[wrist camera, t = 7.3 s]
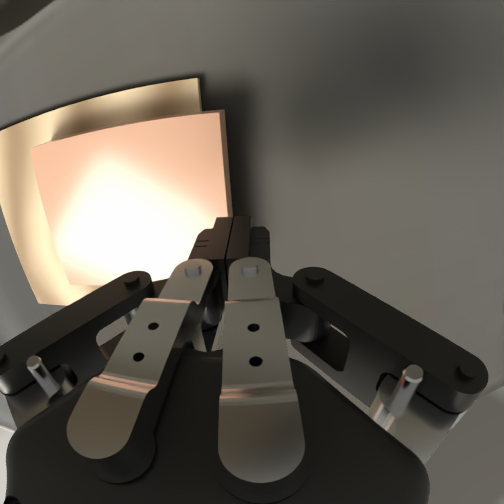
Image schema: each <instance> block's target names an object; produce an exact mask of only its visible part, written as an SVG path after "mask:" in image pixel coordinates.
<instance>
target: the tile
mask: <svg viewBox="0 0 504 504" xmlns="http://www.w3.org/2000/svg"><path fill="white" fill-rule="evenodd" d="M30 153H31V158H32V163H33V167H34V172H35V176H36V181H37V185H38V189H39V193H40V197H41V200H42V204H43V208H44V211H45V215H46V218H47V221H48V225H49V228H50V231H51V234H52V237H53V240H54V243H55V246H56V249H57V252H58V255H59V257H60V260H61V263H62V266H63V268H64V271H65V274H66V276H67V279H68V281H69V284H70V285H105V284H107V283H109V282H110V281H112V280H114V279H116V278H118V277H119V276H121V275H123V274H125V273H128V272H131V271H137V270H140V271H146V272H148V273H149V274H150V275H151V279H152V282H153V281H158V280H162V279H167V278H169V277H170V275H171V273H172V272H173V270H174V268H175V267H176V266H177V265H178V264H179V263H181V262H183V261H186V260H188V258H189V255H190V253H191V250H192V248H193V245H194V243H195V240H196V238H197V235H198V234H199V233H200V232H202V231H203V230H204V229H211V228H213V226H214V223H215V220H216V218H217V217H233V212H232V200H231V187H230V175H229V162H228V149H227V135H226V121H225V109H224V110H212V111H201V112H192V113H184V114H176V115H168V116H161V117H155V118H148V119H142V120H137V121H131V122H126V123H120V124H115V125H111V126H106V127H101V128H97V129H92V130H88V131H84V132H80V133H76V134H72V135H68V136H64V137H61V138H57V139H54V140H50V141H48V142H45V143H43V144H40V145H38V146H35V147H33V148H30Z"/></svg>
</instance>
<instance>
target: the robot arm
mask: <svg viewBox="0 0 504 504" xmlns="http://www.w3.org/2000/svg"><path fill="white" fill-rule="evenodd" d="M223 312H225V314H224V338H223V349H222V350H216V348H217V345H218V341H219V337H220V333H221V329H222V324H221V319H222V313H223ZM122 316H125V319H126V321H127V324H128V327H127V329H126V330H125V331H123V332H122V333H120V334H118V335H117V336H115V337H114V338H112V339H111V340H109V341H107V342H106V343H104V344H103V345H101V346H98V344H97V342H96V336H97V334H98V332H99V331H100V330H101V329H103V328H104V327H106V326H107V325H109V324H111V323H112V322H114V321H116V320H117V319H119V318H120V317H122ZM331 324H332V325H333V326H335V327H336V328H338V329H339V330H341V331H342V332H343V333H345V335H346V336H347V337H348V338H347V337H345V336H344V335H342V334H341V333H340V332H338V331H337V330H335V329H334V328H332V327H331V326H330V325H331ZM286 338H287V339H291V344H292V346H293V347H294V348H295V349H296V350H297V351H298V352H300V353H301V354H302V355H303V356H304V357H306V358H307V359H308V360H309V361H311V362H312V363H313V364H314V365H316V366H317V367H318V368H319V369H321V370H322V371H323V372H324V373H326V374H327V375H328V376H329V377H331V378H332V379H333V380H334V381H336V382H337V383H338V384H339V385H341V386H342V387H343V388H345V389H346V390H347V391H348V392H350V393H351V394H352V395H354V396H355V397H356V398H358V399H359V400H360V401H361V402H363V403H364V404H365V405H367V406H368V407H369V408H370V410H369V416H370V417H369V416H368V415H367V414H365V413H364V412H363V411H362V410H361V409H359V408H358V407H357V406H356V405H355V404H353V403H352V402H351V401H350V400H349V399H347V398H346V397H345V396H344V395H343V394H341V393H340V392H339V391H338V390H337V389H336V388H334V387H333V386H332V385H331V384H330V383H329V382H327V381H326V380H325V379H324V378H323V377H322V376H321V375H319V374H318V373H317V372H316V371H315V370H313V369H312V368H311V367H309V366H308V365H306V364H304V363H302V362H300V361H298V360H295V359H292V358H289V355H288V349H287V344H286ZM487 382H488V371H487V369H486V366H485V365H484V363H483V362H482V361H481V360H480V359H479V358H477V357H476V356H474V355H473V354H471V353H470V352H468V351H466V350H465V349H463V348H461V347H460V346H458V345H456V344H455V343H453V342H451V341H450V340H448V339H446V338H445V337H443V336H441V335H440V334H438V333H436V332H434V331H433V330H431V329H429V328H428V327H426V326H424V325H423V324H421V323H419V322H418V321H416V320H414V319H412V318H411V317H409V316H407V315H406V314H404V313H402V312H400V311H399V310H397V309H395V308H394V307H392V306H390V305H388V304H387V303H385V302H383V301H381V300H380V299H378V298H376V297H374V296H373V295H371V294H369V293H368V292H366V291H364V290H362V289H361V288H359V287H357V286H355V285H353V284H352V283H350V282H348V281H346V280H345V279H343V278H341V277H339V276H338V275H336V274H334V273H332V272H331V271H329V270H327V269H324V268H320V267H307V268H303V269H300V270H299V271H297V272H296V273H295V274H294V276H293V277H288V276H284V275H281V274H279V273H277V272H275V271H274V270H273V269H272V267H271V264H270V236H269V231H268V230H267V229H266V228H265V227H253V224H252V216H235V217H217V218H216V220H215V223H214V226H213V228H211V229H204V230H203V231H202V232H200V233H199V234H198V235H197V238H196V240H195V243H194V245H193V248H192V250H191V253H190V255H189V258H188V260H186V261H183V262H181V263H179V264H178V265H177V266H176V267H175V268H174V270H173V272H172V273H171V275H170V277H169V278H167V279H162V280H158V281H153V282H152V279H151V275H150V274H149V273H148V272H146V271H140V270H137V271H131V272H128V273H125V274H123V275H121V276H119V277H118V278H116V279H114V280H112V281H110V282H109V283H107V284H105V285H103V286H101V287H100V288H98V289H96V290H94V291H92V292H91V293H89V294H87V295H85V296H84V297H82V298H80V299H78V300H77V301H75V302H73V303H71V304H70V305H68V306H66V307H65V308H63V309H61V310H59V311H58V312H56V313H54V314H53V315H51V316H49V317H47V318H46V319H44V320H42V321H41V322H39V323H37V324H36V325H34V326H32V327H31V328H29V329H27V330H26V331H24V332H23V333H21V334H19V335H18V336H16V337H14V338H13V339H11V340H9V341H8V342H6V343H5V344H3V345H1V346H0V392H1V393H2V394H3V396H4V397H5V398H6V400H7V403H8V406H9V409H10V412H11V414H12V417H13V420H14V422H15V425H16V427H17V430H16V431H15V433H14V434H13V436H12V437H11V439H10V441H9V444H8V448H7V453H6V466H7V490H6V498H5V501H4V504H428V500H429V494H430V483H429V477H428V473H427V471H426V468H425V466H424V464H425V463H426V462H427V460H428V459H429V457H430V456H431V455H432V454H433V452H434V451H435V450H436V448H437V447H438V445H439V444H440V443H441V441H442V440H443V438H444V437H445V436H446V434H448V432H449V431H450V430H451V429H452V428H453V427H454V426H455V425H456V423H457V422H458V421H459V420H460V419H461V417H462V416H463V415H464V414H465V413H466V411H467V410H468V409H469V408H470V406H471V405H472V404H473V403H474V401H475V400H476V399H477V397H478V396H479V395H480V393H481V392H482V391H483V389H484V388H485V387H486V385H487Z"/></svg>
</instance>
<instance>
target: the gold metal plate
mask: <svg viewBox="0 0 504 504" xmlns="http://www.w3.org/2000/svg"><path fill="white" fill-rule="evenodd" d="M201 111H202V107H201V94H200V81H199V78H194V79H186V80H179V81H172V82H166V83H160V84H154V85H149V86H144V87H139V88H134V89H129V90H125V91H120V92H116V93H112V94H108V95H104V96H100V97H96V98H92V99H89V100H85V101H82V102H78V103H75V104H72V105H68V106H65V107H62V108H59V109H56V110H53V111H50V112H47V113H44V114H42V115H39V116H36V117H33V118H31V119H28V120H26V121H23V122H21V123H18V124H16V125H13V126H11V127H9V128H6V129H4V130H2V131H0V204H1V207H2V211H3V214H4V217H5V220H6V223H7V226H8V229H9V232H10V235H11V238H12V241H13V244H14V246H15V249H16V252H17V254H18V257H19V259H20V262H21V264H22V267H23V269H24V272H25V274H26V276H27V279H28V281H29V283H30V285H31V288H32V290H33V292H34V294H35V296H36V298H37V300H38V302H39V303H41V304H54V305H70V304H71V303H73V302H75V301H77V300H78V299H80V298H82V297H84V296H85V295H87V294H89V293H91V292H92V291H94V290H96V289H98V288H100V287H101V286H103V285H70V284H69V281H68V279H67V276H66V274H65V271H64V268H63V266H62V263H61V260H60V257H59V255H58V252H57V249H56V246H55V243H54V240H53V237H52V234H51V231H50V228H49V225H48V221H47V218H46V215H45V211H44V208H43V204H42V200H41V197H40V193H39V189H38V185H37V181H36V176H35V172H34V167H33V163H32V158H31V153H30V148H33V147H35V146H38V145H40V144H43V143H45V142H48V141H50V140H54V139H57V138H61V137H64V136H68V135H72V134H76V133H80V132H84V131H88V130H92V129H97V128H101V127H106V126H111V125H115V124H120V123H126V122H131V121H137V120H142V119H148V118H155V117H161V116H168V115H176V114H184V113H192V112H201Z"/></svg>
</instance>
